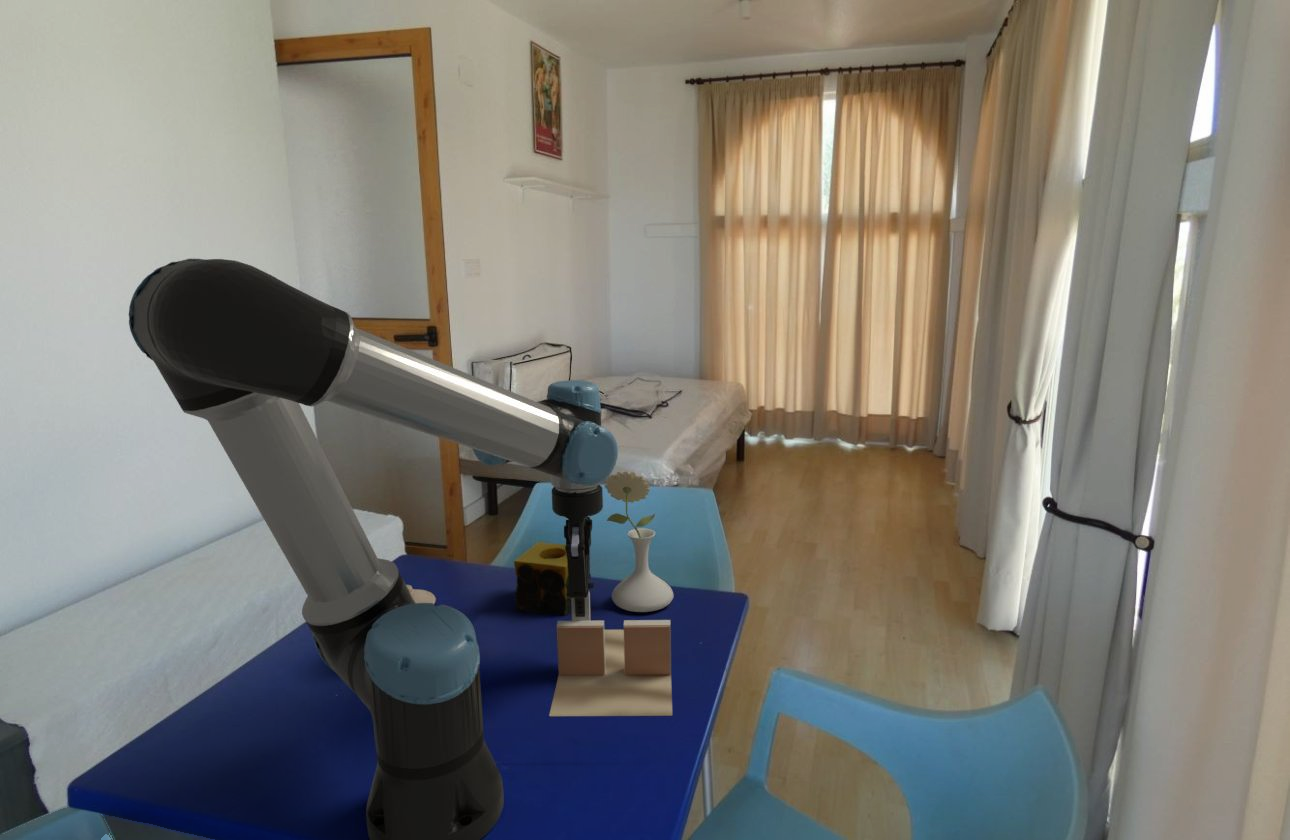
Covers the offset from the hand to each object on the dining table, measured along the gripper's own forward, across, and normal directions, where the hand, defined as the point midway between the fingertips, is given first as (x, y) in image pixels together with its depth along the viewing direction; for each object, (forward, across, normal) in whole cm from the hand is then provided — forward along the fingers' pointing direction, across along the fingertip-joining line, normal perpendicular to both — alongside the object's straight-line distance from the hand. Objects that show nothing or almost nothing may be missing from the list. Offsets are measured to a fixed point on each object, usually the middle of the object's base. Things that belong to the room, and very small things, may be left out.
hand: (581, 631), depth 113 cm
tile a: (+5, -3, 0) cm, 6 cm away
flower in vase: (+6, +21, -8) cm, 23 cm away
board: (+6, -2, -5) cm, 8 cm away
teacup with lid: (+6, +4, +27) cm, 28 cm away
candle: (+6, +21, +8) cm, 23 cm away
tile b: (+5, -3, -10) cm, 12 cm away
